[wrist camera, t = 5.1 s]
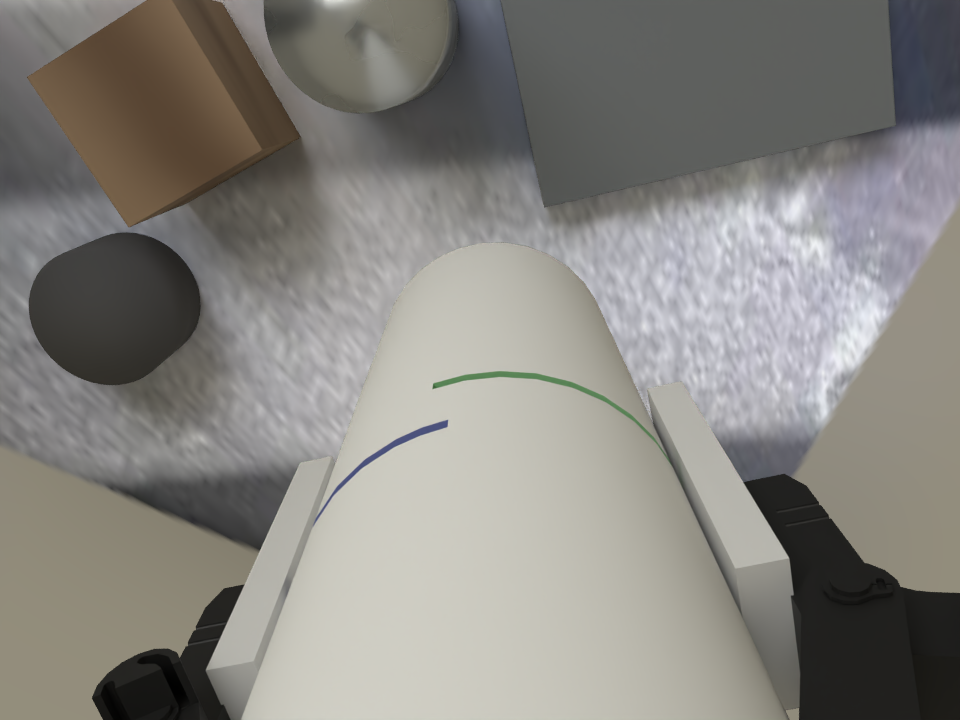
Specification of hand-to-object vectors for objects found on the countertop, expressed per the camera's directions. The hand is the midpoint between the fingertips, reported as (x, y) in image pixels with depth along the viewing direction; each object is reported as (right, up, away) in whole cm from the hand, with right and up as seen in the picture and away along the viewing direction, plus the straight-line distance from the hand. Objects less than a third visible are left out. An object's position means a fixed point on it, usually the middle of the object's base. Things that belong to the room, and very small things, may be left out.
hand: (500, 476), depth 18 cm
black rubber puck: (-14, +5, +13) cm, 20 cm away
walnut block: (-10, +12, +10) cm, 19 cm away
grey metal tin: (-4, +14, +9) cm, 17 cm away
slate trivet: (+6, +15, +9) cm, 18 cm away
